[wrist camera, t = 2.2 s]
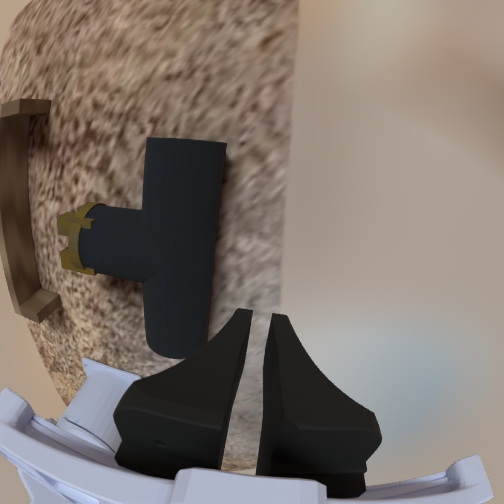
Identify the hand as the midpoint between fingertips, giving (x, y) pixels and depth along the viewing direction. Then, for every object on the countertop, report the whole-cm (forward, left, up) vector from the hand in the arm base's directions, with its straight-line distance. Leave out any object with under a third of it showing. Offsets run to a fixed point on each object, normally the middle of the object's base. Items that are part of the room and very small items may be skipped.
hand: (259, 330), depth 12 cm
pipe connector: (0, +9, -10) cm, 14 cm away
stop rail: (+1, +23, -9) cm, 24 cm away
